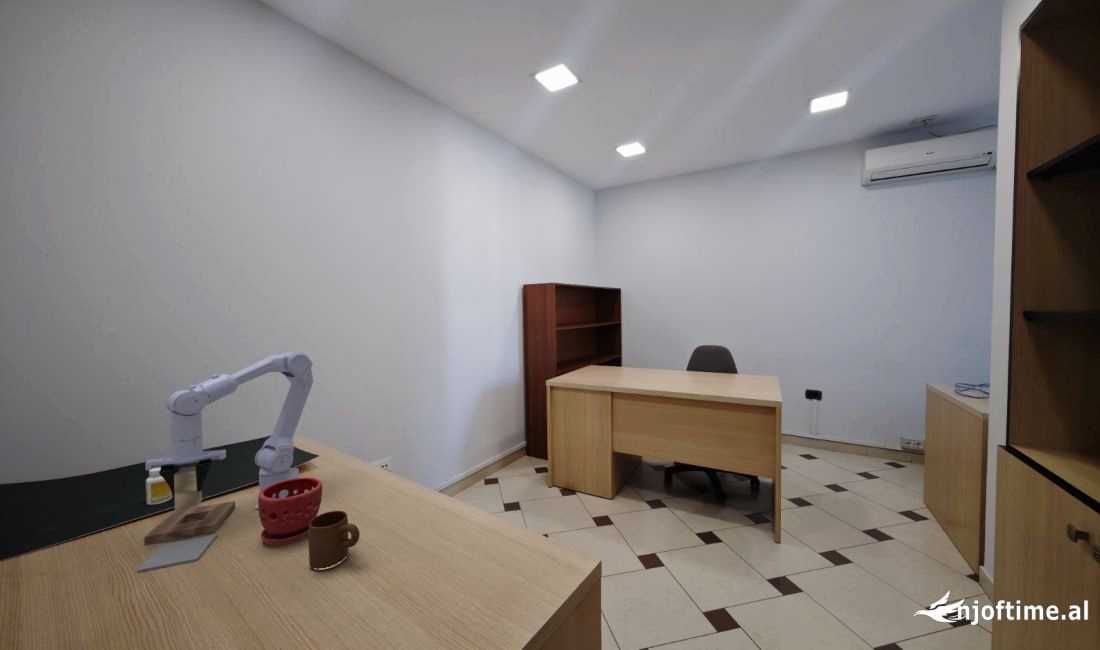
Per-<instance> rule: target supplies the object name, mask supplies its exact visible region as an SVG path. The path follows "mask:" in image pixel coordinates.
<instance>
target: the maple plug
mask: <svg viewBox="0 0 1100 650" xmlns="http://www.w3.org/2000/svg"><path fill="white" fill-rule="evenodd" d="M174 491H175V496H174V511H177V510H182V509H188V508H194V507H199V505H200V503H201V502H202V501H203V490H202V491H199V492H198V491H197V473H196V468H195V466H190V467H180V469H179V470H178V471H177V472H176V473H175V474H174Z"/></svg>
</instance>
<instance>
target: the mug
mask: <svg viewBox="0 0 1100 650" xmlns="http://www.w3.org/2000/svg"><path fill="white" fill-rule="evenodd" d="M348 520H349V519H348V514H347V512H345V511H344V510H331V511H328V512H327V511H326V512H324V513H321V514H317V516H316V517H315V518H313V519H312V520H311V521H310V523H309V531H308V535H307V536H308V537H307V538H308V561H309V562H308V563H309V567H310V566H311V567H312V568H317V569H319V568H326V567H330V566H332V565H335V564H337V563H338V562H340V561H342V560H343V559H344V558H345V557H346V556H347V554H348V555H349V548H352V547H354V546H355V545H356V544H357V543H358V542H359V539H360V530H359V528H358V526H357V525H356V524H353V523H350V522H349V521H348ZM349 533H350V538H349ZM347 557H348V556H347ZM311 567H310V568H311ZM312 568H311V569H312Z"/></svg>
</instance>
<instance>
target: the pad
mask: <svg viewBox="0 0 1100 650" xmlns="http://www.w3.org/2000/svg"><path fill="white" fill-rule="evenodd" d="M217 538H218V534H212V535H206V536H201V537H197V538H191V539H185V540H178V541H174V542H168V543H164V544H163V545H162V546H161V547H159V549H157V550H156V551H155V552H154V553H153V554H152V555H151V556H150V557H149V558H148V559H147V560H146V561H145V562H144V563H143V564H142V565H140V567H139V568H138V569H136V570H137V571H136V572H137V573H142V572H143V573H144V572H147V571H153V570H157V569H161V568H167V567H172V566H178V565H182V564H187V563H193V562H198V560H200V558H201V557H202V556H203V554H204V553H205V552H206V549H209V548H210V546H211V545H212V543H213V542H214V541H215V540H216V539H217Z"/></svg>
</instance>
